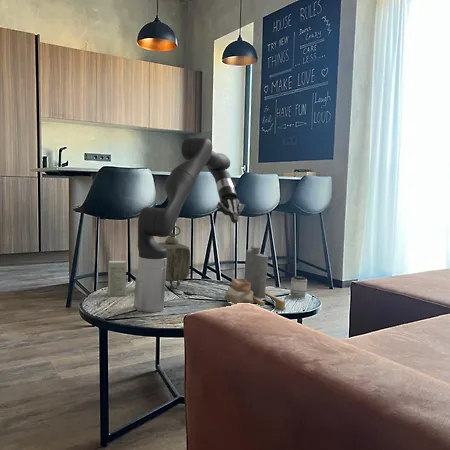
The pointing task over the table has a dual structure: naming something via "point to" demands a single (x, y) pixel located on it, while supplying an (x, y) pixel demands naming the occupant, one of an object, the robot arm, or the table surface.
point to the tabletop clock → (176, 259)
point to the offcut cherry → (241, 285)
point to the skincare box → (116, 278)
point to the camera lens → (298, 286)
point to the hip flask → (256, 271)
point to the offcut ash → (240, 295)
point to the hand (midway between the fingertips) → (235, 221)
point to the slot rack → (279, 302)
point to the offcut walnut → (238, 301)
